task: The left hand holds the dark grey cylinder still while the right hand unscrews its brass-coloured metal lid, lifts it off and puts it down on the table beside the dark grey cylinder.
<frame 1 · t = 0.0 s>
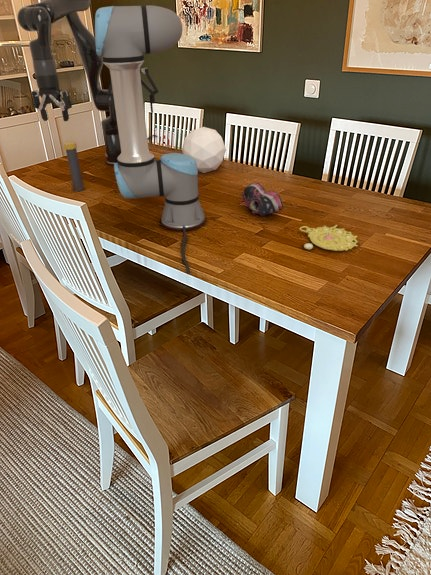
left hand: (55, 120, 166), 29 cm above the table, tool pointing down, fingers open, 8 cm apart
right hand: (135, 113, 181), 28 cm above the table, tool pointing down, fingers open, 13 cm apart
lid: (69, 144, 177), point 19 cm above the table, screwed on, not yet turned
decorative object: (328, 239, 142), on the table
athletic shoe: (257, 211, 163), on the table
sphere: (204, 171, 204), on the table
dark grey cylinder: (79, 189, 187), on the table
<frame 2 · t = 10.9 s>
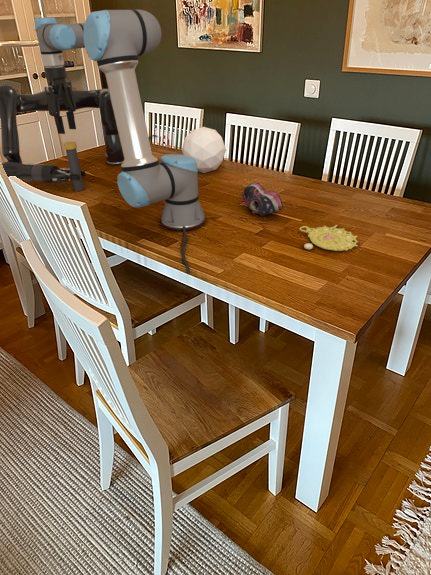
left hand: (82, 175, 184), 6 cm above the table, tool horizontal, fingers closed on dark grey cylinder, 4 cm apart
right hand: (67, 131, 175), 24 cm above the table, tool pointing down, fingers open, 7 cm apart
dark grey cylinder: (79, 189, 187), on the table, touching left hand
everything else where it was.
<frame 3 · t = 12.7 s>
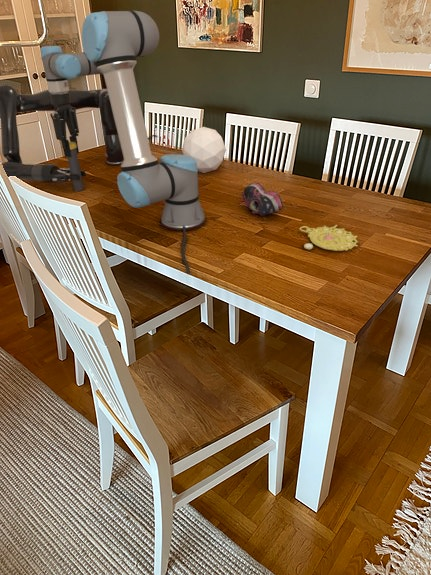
left hand: (82, 175, 184), 6 cm above the table, tool horizontal, fingers closed on dark grey cylinder, 4 cm apart
right hand: (72, 154, 179), 15 cm above the table, tool pointing down, fingers closed on lid, 5 cm apart
lid: (69, 144, 177), point 19 cm above the table, screwed on, not yet turned, touching right hand
dark grey cylinder: (79, 189, 187), on the table, touching left hand
everything else where it was.
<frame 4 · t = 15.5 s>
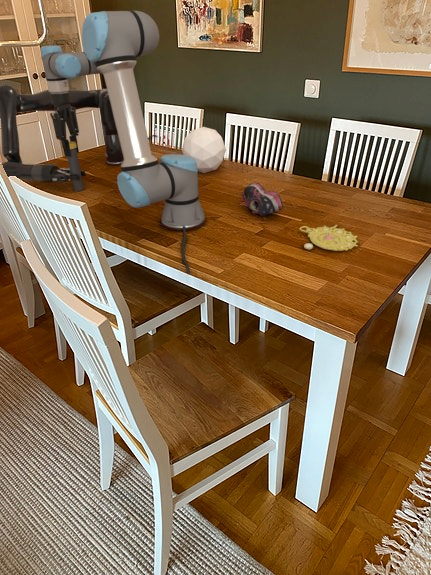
left hand: (82, 175, 184), 6 cm above the table, tool horizontal, fingers closed on dark grey cylinder, 4 cm apart
right hand: (71, 154, 179), 15 cm above the table, tool pointing down, fingers closed on lid, 5 cm apart
lid: (69, 143, 177), point 19 cm above the table, turned 89° so far, risen 0.1 cm, still on its thread, touching right hand
dark grey cylinder: (79, 189, 187), on the table, touching left hand
everything else where it was.
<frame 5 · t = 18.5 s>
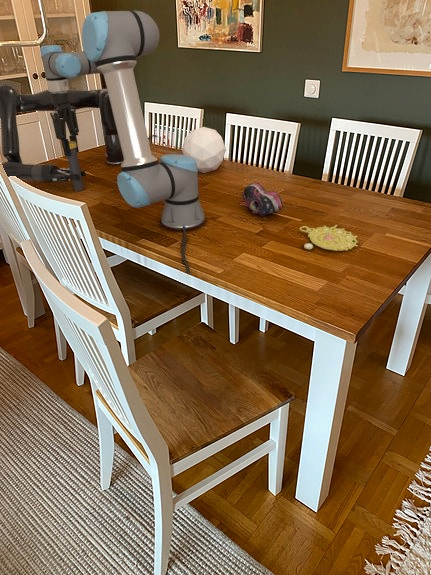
left hand: (82, 175, 184), 6 cm above the table, tool horizontal, fingers closed on dark grey cylinder, 4 cm apart
right hand: (71, 153, 179), 15 cm above the table, tool pointing down, fingers closed on lid, 5 cm apart
lid: (69, 143, 177), point 19 cm above the table, turned 178° so far, risen 0.3 cm, still on its thread, touching right hand
dark grey cylinder: (79, 189, 187), on the table, touching left hand
everything else where it was.
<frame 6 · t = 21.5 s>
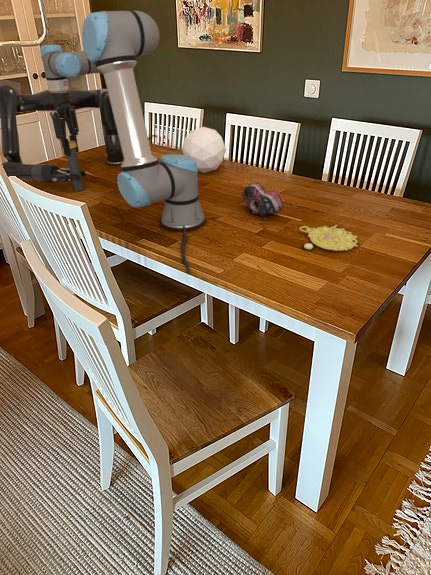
left hand: (82, 175, 184), 6 cm above the table, tool horizontal, fingers closed on dark grey cylinder, 4 cm apart
right hand: (71, 153, 179), 15 cm above the table, tool pointing down, fingers closed on lid, 5 cm apart
lid: (69, 143, 177), point 19 cm above the table, turned 267° so far, risen 0.4 cm, still on its thread, touching right hand
dark grey cylinder: (79, 189, 187), on the table, touching left hand
everything else where it was.
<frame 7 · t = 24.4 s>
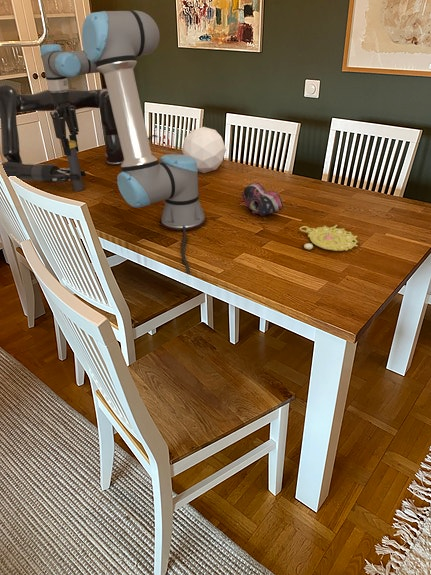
left hand: (82, 175, 184), 6 cm above the table, tool horizontal, fingers closed on dark grey cylinder, 4 cm apart
right hand: (71, 153, 179), 15 cm above the table, tool pointing down, fingers closed on lid, 5 cm apart
lid: (69, 142, 177), point 19 cm above the table, turned 356° so far, risen 0.5 cm, still on its thread, touching right hand
dark grey cylinder: (78, 189, 187), on the table, touching left hand
everything else where it was.
when the right hand's fingers open (0 cm above the table, at t = 33.2 s): lid drops 3 cm, point 2 cm above the table.
when the left hand's fingers open (6 cm above the table, at t = 34.3 s): dark grey cylinder stays where it is, on the table.
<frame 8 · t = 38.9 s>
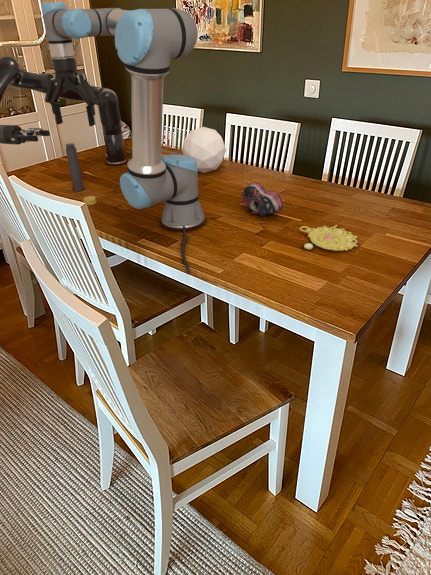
left hand: (43, 135, 178), 22 cm above the table, tool horizontal, fingers open, 8 cm apart
right hand: (75, 124, 158), 30 cm above the table, tool pointing down, fingers open, 13 cm apart
lid: (89, 199, 173), point 2 cm above the table, off its thread
dark grey cylinder: (78, 189, 187), on the table
everything else where it was.
at the end: lid came off its thread; lid point 1.6 cm above the table; the left hand is holding nothing; the right hand is holding nothing; dark grey cylinder tilted 0°; dark grey cylinder moved 0.0 cm from its start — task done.
